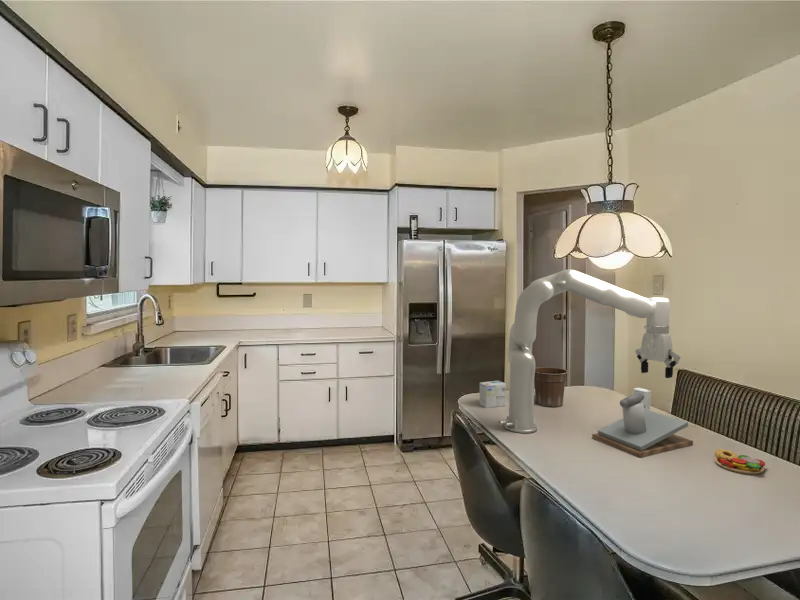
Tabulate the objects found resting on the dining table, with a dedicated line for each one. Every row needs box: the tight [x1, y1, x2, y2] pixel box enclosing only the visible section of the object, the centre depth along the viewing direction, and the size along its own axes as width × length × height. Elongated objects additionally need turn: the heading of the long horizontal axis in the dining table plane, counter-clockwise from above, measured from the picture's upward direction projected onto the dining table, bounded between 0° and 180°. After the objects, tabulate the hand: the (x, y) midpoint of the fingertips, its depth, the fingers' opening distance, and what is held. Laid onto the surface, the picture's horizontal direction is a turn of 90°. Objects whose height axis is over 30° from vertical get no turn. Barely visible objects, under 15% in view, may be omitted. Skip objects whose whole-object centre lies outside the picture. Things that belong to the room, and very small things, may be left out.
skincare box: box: [632, 387, 652, 411], centre depth 197 cm, size 6×4×12 cm
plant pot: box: [534, 366, 569, 408], centre depth 217 cm, size 16×16×16 cm
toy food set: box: [714, 448, 766, 475], centre depth 147 cm, size 13×13×3 cm
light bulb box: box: [479, 380, 507, 409], centre depth 214 cm, size 11×7×11 cm, turn 111°
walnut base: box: [591, 432, 694, 458], centre depth 169 cm, size 28×20×2 cm
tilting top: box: [597, 392, 689, 451], centre depth 168 cm, size 25×18×14 cm
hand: (656, 375), depth 174 cm, fingers open, 9 cm apart
